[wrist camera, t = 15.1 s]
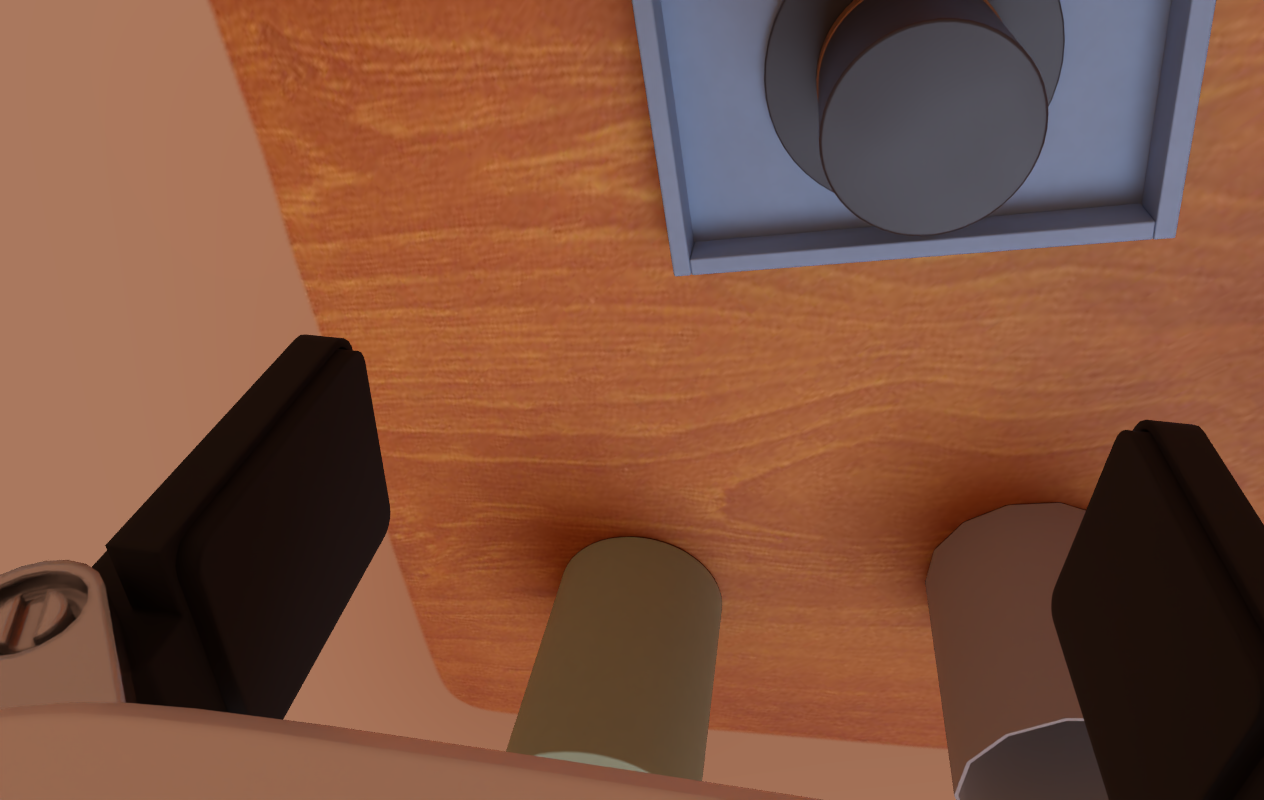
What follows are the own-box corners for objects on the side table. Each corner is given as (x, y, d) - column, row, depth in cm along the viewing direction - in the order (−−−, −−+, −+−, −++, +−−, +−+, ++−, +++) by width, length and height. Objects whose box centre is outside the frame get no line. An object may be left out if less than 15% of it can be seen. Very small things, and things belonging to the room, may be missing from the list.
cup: (928, 647, 40) (956, 862, 32) (921, 508, 36) (952, 717, 28) (1134, 645, 38) (1219, 876, 30) (1153, 498, 34) (1259, 720, 26)
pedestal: (534, 601, 43) (461, 813, 34) (613, 509, 39) (552, 723, 30) (665, 673, 45) (627, 894, 36) (754, 591, 40) (737, 819, 31)
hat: (711, 104, 28) (686, 177, 23) (890, -164, 23) (913, -151, 18) (920, 248, 30) (943, 349, 24) (1128, 23, 25) (1214, 86, 20)
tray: (681, 252, 32) (673, 277, 30) (628, -105, 26) (616, -98, 24) (1154, 212, 28) (1175, 238, 27) (1221, -212, 22) (1253, -212, 21)
